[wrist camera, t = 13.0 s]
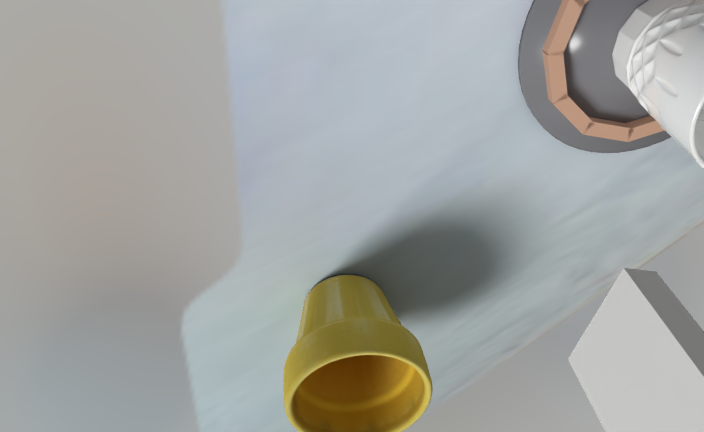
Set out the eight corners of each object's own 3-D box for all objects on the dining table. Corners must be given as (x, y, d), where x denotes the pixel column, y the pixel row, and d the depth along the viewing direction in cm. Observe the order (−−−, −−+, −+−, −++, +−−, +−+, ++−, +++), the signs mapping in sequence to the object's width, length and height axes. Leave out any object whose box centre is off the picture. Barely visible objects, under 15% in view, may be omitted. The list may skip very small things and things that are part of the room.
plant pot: (422, 324, 51) (450, 421, 43) (311, 361, 52) (318, 463, 44) (384, 237, 45) (408, 332, 37) (260, 282, 46) (257, 383, 38)
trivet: (583, -134, 32) (595, -132, 31) (824, -69, 35) (842, -65, 34) (483, 131, 40) (489, 140, 39) (683, 163, 44) (694, 172, 43)
